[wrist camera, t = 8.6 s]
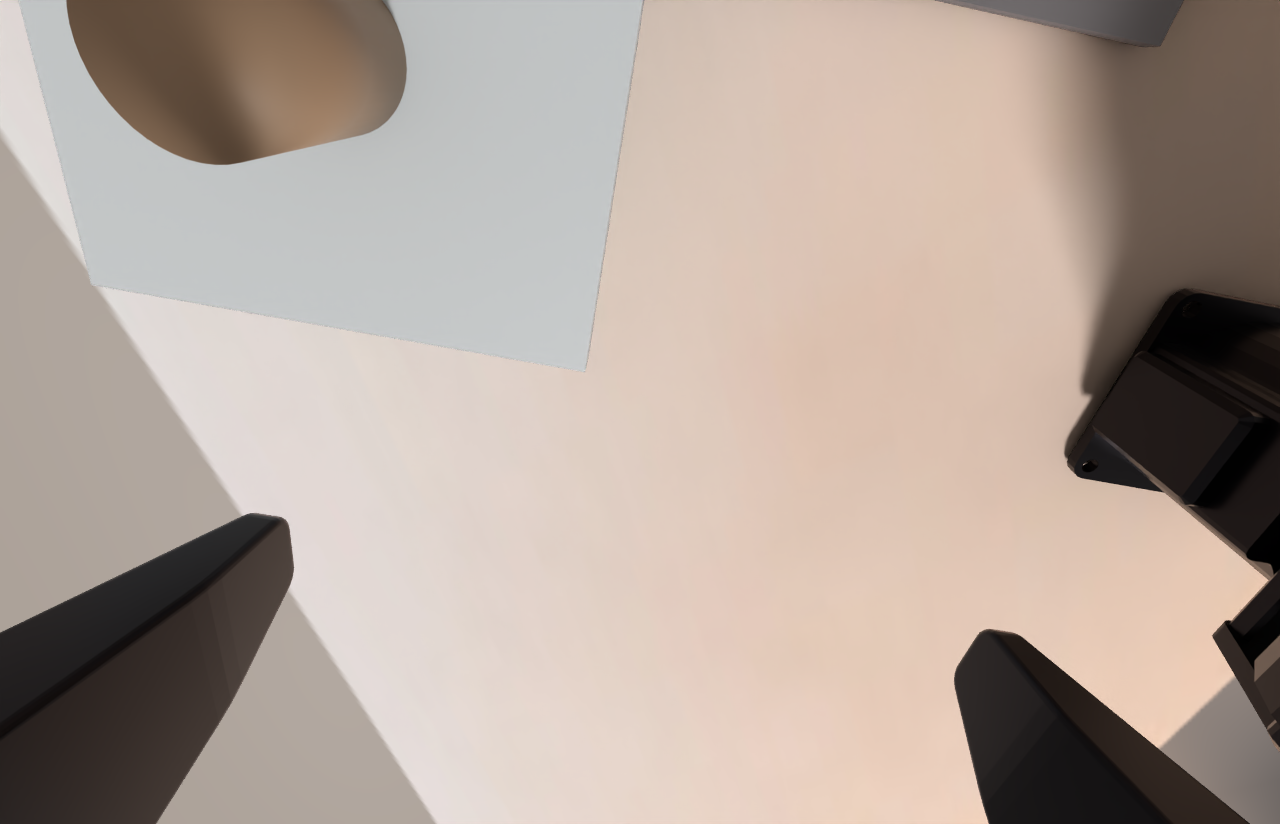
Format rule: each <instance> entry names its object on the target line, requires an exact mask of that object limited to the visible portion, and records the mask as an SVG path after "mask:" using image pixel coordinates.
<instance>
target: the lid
mask: <svg viewBox="0 0 1280 824" xmlns="http://www.w3.org/2000/svg"><path fill="white" fill-rule="evenodd" d="M18 1H19V5H20V9H21V12H22V16H23V20H24V24H25V28H26V32H27V36H28V40H29V44H30V47H31V51H32V55H33V59H34V63H35V67H36V71H37V75H38V79H39V82H40V86H41V90H42V94H43V98H44V102H45V106H46V110H47V114H48V118H49V121H50V125H51V129H52V133H53V137H54V141H55V145H56V149H57V153H58V156H59V160H60V164H61V168H62V172H63V176H64V180H65V184H66V188H67V192H68V195H69V199H70V203H71V207H72V211H73V215H74V219H75V223H76V227H77V230H78V234H79V238H80V242H81V246H82V250H83V254H84V258H85V262H86V266H87V269H88V273H89V277H90V281H91V285H94V286H100V287H106V288H111V289H117V290H123V291H128V292H134V293H140V294H145V295H151V296H157V297H162V298H168V299H173V300H179V301H185V302H190V303H196V304H202V305H207V306H213V307H219V308H224V309H230V310H236V311H241V312H247V313H253V314H258V315H264V316H270V317H275V318H281V319H287V320H292V321H298V322H304V323H309V324H315V325H321V326H326V327H332V328H338V329H343V330H349V331H355V332H360V333H366V334H372V335H377V336H383V337H389V338H394V339H400V340H406V341H411V342H417V343H423V344H428V345H434V346H440V347H445V348H451V349H457V350H462V351H468V352H474V353H479V354H485V355H490V356H496V357H502V358H507V359H513V360H519V361H524V362H530V363H536V364H541V365H547V366H553V367H558V368H564V369H570V370H575V371H581V372H585V370H586V366H587V362H588V357H589V351H590V344H591V338H592V332H593V325H594V319H595V312H596V306H597V300H598V293H599V287H600V281H601V274H602V268H603V261H604V255H605V249H606V242H607V236H608V229H609V223H610V217H611V210H612V204H613V197H614V191H615V185H616V178H617V172H618V165H619V159H620V153H621V146H622V140H623V133H624V127H625V121H626V114H627V108H628V101H629V95H630V89H631V82H632V76H633V69H634V63H635V57H636V50H637V44H638V38H639V31H640V25H641V18H642V12H643V6H644V0H18Z"/></svg>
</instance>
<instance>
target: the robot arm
mask: <svg viewBox="0 0 1280 824" xmlns="http://www.w3.org/2000/svg"><path fill="white" fill-rule="evenodd" d="M1190 302H1191V305H1190V307H1189V308H1188V309H1187V310H1186V311H1184V312H1182V311H1183V308H1184V307H1185V306H1186V305H1187V304H1188V303H1190ZM1088 460H1090V461H1089V462H1088V463H1087V464H1085V465H1083V464H1084V463H1085V462H1086V461H1088ZM1067 465H1068V467H1069V468H1070V470H1071V471H1073V472H1074V473H1075V474H1076V475H1077V476H1078V477H1080V478H1084V479H1090V480H1095V481H1101V482H1107V483H1113V484H1118V485H1124V486H1130V487H1136V488H1141V489H1147V490H1153V491H1158V492H1164V493H1166V494H1167V495H1168V496H1169V497H1170V498H1172V499H1173V500H1174V501H1175V502H1176V503H1178V504H1179V505H1180V506H1181V507H1182V508H1184V509H1185V510H1186V511H1187V512H1188V513H1189V514H1191V515H1192V516H1193V517H1194V518H1195V519H1197V520H1198V521H1199V522H1200V523H1201V524H1203V525H1204V526H1205V527H1206V528H1207V529H1209V530H1210V531H1211V532H1212V533H1213V534H1214V535H1216V536H1217V537H1218V538H1219V539H1220V540H1222V541H1223V542H1224V543H1225V544H1226V545H1228V546H1229V547H1230V548H1231V549H1232V550H1233V551H1235V552H1236V553H1237V554H1238V555H1239V556H1241V557H1242V558H1243V559H1244V560H1245V561H1247V562H1248V563H1249V564H1250V565H1251V566H1253V567H1254V568H1255V569H1256V570H1257V571H1258V572H1260V573H1261V574H1262V575H1263V576H1264V577H1266V578H1267V579H1268V580H1269V581H1268V582H1267V583H1266V584H1265V585H1264V586H1263V587H1262V588H1261V589H1260V590H1259V592H1258V593H1257V594H1256V595H1255V596H1254V597H1253V598H1252V599H1251V600H1250V601H1249V602H1248V603H1247V605H1246V606H1245V607H1244V608H1243V609H1242V610H1241V611H1240V612H1239V613H1238V614H1237V615H1236V616H1235V617H1234V619H1233V620H1232V621H1229V620H1227V621H1225V622H1224V623H1223V624H1222V625H1221V626H1220V627H1219V628H1218V629H1217V631H1216V632H1215V633H1214V634H1213V635H1212V636H1213V639H1214V640H1215V642H1216V644H1217V646H1218V647H1219V649H1220V651H1221V652H1222V654H1223V656H1224V657H1225V659H1226V661H1227V663H1228V664H1229V666H1230V668H1231V669H1232V671H1233V673H1234V674H1235V676H1236V678H1237V679H1238V681H1239V683H1240V685H1241V686H1242V688H1243V690H1244V691H1245V693H1246V695H1247V696H1248V698H1249V700H1250V702H1251V703H1252V705H1253V707H1254V708H1255V710H1256V712H1257V714H1258V715H1259V717H1260V719H1261V720H1262V722H1263V724H1264V725H1265V727H1266V729H1267V731H1268V734H1269V736H1270V738H1271V740H1272V742H1273V744H1274V746H1275V747H1276V748H1277V749H1278V751H1279V752H1280V306H1277V305H1272V304H1266V303H1261V302H1256V301H1251V300H1246V299H1241V298H1236V297H1231V296H1226V295H1221V294H1216V293H1211V292H1206V291H1201V290H1196V289H1183V290H1180V291H1177V292H1176V293H1174V294H1173V295H1172V296H1170V298H1169V299H1168V300H1167V301H1166V302H1165V304H1164V305H1163V307H1162V309H1161V310H1160V312H1159V314H1158V315H1157V317H1156V318H1155V320H1154V322H1153V323H1152V325H1151V326H1150V328H1149V330H1148V331H1147V333H1146V334H1145V336H1144V338H1143V339H1142V341H1141V342H1140V344H1139V346H1138V347H1137V349H1136V350H1135V352H1134V354H1133V355H1132V357H1131V358H1130V360H1129V362H1128V363H1127V365H1126V366H1125V368H1124V370H1123V371H1122V373H1121V374H1120V376H1119V378H1118V379H1117V381H1116V382H1115V384H1114V386H1113V387H1112V389H1111V390H1110V392H1109V394H1108V395H1107V397H1106V398H1105V400H1104V402H1103V403H1102V405H1101V406H1100V408H1099V410H1098V411H1097V413H1096V414H1095V416H1094V418H1093V419H1092V421H1091V422H1090V424H1089V426H1088V427H1087V429H1086V430H1085V432H1084V434H1083V435H1082V437H1081V438H1080V440H1079V442H1078V443H1077V445H1076V446H1075V448H1074V450H1073V451H1072V453H1071V454H1070V456H1069V458H1068V461H1067ZM293 572H294V562H293V554H292V546H291V537H290V529H289V525H288V523H287V521H286V520H285V519H284V518H282V517H278V516H271V515H265V514H259V513H250V514H246V515H244V516H241V517H239V518H237V519H235V520H233V521H231V522H229V523H227V524H225V525H223V526H221V527H219V528H217V529H214V530H212V531H210V532H208V533H206V534H204V535H202V536H200V537H198V538H196V539H194V540H192V541H190V542H187V543H185V544H183V545H181V546H179V547H177V548H175V549H173V550H171V551H169V552H167V553H165V554H163V555H160V556H158V557H156V558H155V559H152V560H150V561H148V562H146V563H144V564H142V565H140V566H138V567H136V568H134V569H132V570H129V571H127V572H125V573H123V574H121V575H119V576H117V577H115V578H113V579H111V580H109V581H107V582H104V583H102V584H100V585H98V586H96V587H94V588H92V589H90V590H88V591H86V592H84V593H82V594H80V595H78V596H75V597H73V598H71V599H69V600H67V601H65V602H63V603H61V604H59V605H57V606H55V607H53V608H51V609H48V610H46V611H44V612H42V613H40V614H38V615H36V616H34V617H32V618H30V619H28V620H26V621H24V622H21V623H19V624H17V625H15V626H13V627H11V628H9V629H7V630H5V631H3V632H1V633H0V824H156V823H157V821H158V820H159V818H160V817H161V815H162V814H163V812H164V810H165V809H166V807H167V806H168V804H169V802H170V801H171V799H172V798H173V796H174V795H175V793H176V791H177V790H178V788H179V787H180V785H181V783H182V782H183V780H184V779H185V777H186V775H187V774H188V772H189V771H190V769H191V767H192V766H193V764H194V763H195V761H196V760H197V758H198V756H199V755H200V753H201V752H202V750H203V748H204V747H205V745H206V743H207V742H208V740H209V739H210V737H211V736H212V734H213V732H214V731H215V729H216V728H217V726H218V725H219V723H220V721H221V720H222V718H223V716H224V714H225V713H226V711H227V709H228V708H229V706H230V704H231V703H232V701H233V699H234V697H235V695H236V693H237V691H238V689H239V688H240V685H241V684H242V682H243V680H244V677H245V676H246V674H247V672H248V670H249V668H250V666H251V664H252V661H253V659H254V657H255V655H256V653H257V651H258V649H259V647H260V645H261V643H262V641H263V639H264V637H265V635H266V633H267V631H268V629H269V627H270V625H271V623H272V621H273V619H274V617H275V615H276V612H277V611H278V609H279V607H280V605H281V603H282V601H283V598H284V597H285V594H286V592H287V590H288V588H289V586H290V584H291V581H292V577H293ZM954 685H955V691H956V695H957V699H958V703H959V708H960V712H961V716H962V720H963V724H964V729H965V733H966V737H967V741H968V746H969V750H970V754H971V758H972V763H973V767H974V771H975V775H976V780H977V784H978V788H979V792H980V795H981V799H982V803H983V807H984V810H985V813H986V816H987V819H988V823H989V824H1250V823H1248V822H1247V821H1246V820H1245V819H1243V818H1242V817H1241V816H1240V815H1239V814H1237V813H1236V812H1235V811H1234V810H1232V809H1231V808H1230V807H1229V806H1228V805H1226V804H1225V803H1224V802H1222V801H1221V800H1220V799H1219V798H1218V797H1217V796H1215V795H1214V794H1213V793H1212V792H1210V791H1209V790H1208V789H1207V788H1206V787H1204V786H1203V785H1202V784H1201V783H1199V782H1198V781H1197V780H1196V779H1195V778H1193V777H1192V776H1191V775H1190V774H1188V773H1187V772H1186V771H1185V770H1184V769H1182V768H1181V767H1180V766H1179V765H1178V764H1176V763H1175V762H1174V761H1173V760H1171V759H1170V758H1169V757H1168V756H1166V755H1165V754H1164V753H1163V752H1162V751H1160V750H1159V749H1158V748H1157V747H1156V746H1154V745H1153V744H1152V743H1151V742H1149V741H1148V740H1147V739H1146V738H1145V737H1143V736H1142V735H1141V734H1140V733H1138V732H1137V731H1136V730H1135V729H1134V728H1132V727H1131V726H1130V725H1129V724H1127V723H1126V722H1125V721H1124V720H1123V719H1121V718H1120V717H1119V716H1118V715H1116V714H1115V713H1114V712H1113V711H1112V710H1110V709H1109V708H1108V707H1107V706H1106V705H1104V704H1103V703H1102V702H1101V701H1099V700H1098V699H1097V698H1096V697H1095V696H1093V695H1092V694H1091V693H1090V692H1088V691H1087V690H1086V689H1085V688H1084V687H1082V686H1081V685H1080V684H1079V683H1077V682H1076V681H1075V680H1074V679H1073V678H1071V677H1070V676H1069V675H1068V674H1066V673H1065V672H1064V671H1063V670H1062V669H1060V668H1059V667H1058V666H1057V665H1055V664H1054V663H1053V662H1052V661H1051V660H1049V659H1048V658H1047V657H1046V656H1045V655H1043V654H1042V653H1041V652H1040V651H1038V650H1037V649H1036V648H1035V647H1034V646H1032V645H1031V644H1030V643H1029V642H1027V641H1026V640H1025V639H1024V638H1022V637H1021V636H1020V635H1018V634H1015V633H1012V632H1006V631H1000V630H994V629H985V630H983V631H982V632H980V633H979V634H978V635H977V637H976V638H975V640H974V641H973V643H972V644H971V646H970V648H969V649H968V651H967V652H966V654H965V655H964V657H963V658H962V660H961V661H960V663H959V664H958V666H957V668H956V671H955V677H954Z"/></svg>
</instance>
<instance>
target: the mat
mask: <svg viewBox="0 0 1280 824" xmlns="http://www.w3.org/2000/svg"><path fill="white" fill-rule="evenodd" d="M935 1H940V2H944V3H949V4H953V5H958V6H962V7H967V8H971V9H976V10H980V11H984V12H989V13H993V14H998V15H1002V16H1007V17H1011V18H1016V19H1020V20H1025V21H1029V22H1034V23H1038V24H1042V25H1047V26H1051V27H1056V28H1060V29H1065V30H1069V31H1074V32H1078V33H1083V34H1087V35H1092V36H1096V37H1101V38H1105V39H1109V40H1114V41H1118V42H1123V43H1127V44H1132V45H1136V46H1141V47H1154V46H1161V44H1162V42H1163V40H1164V38H1165V36H1166V34H1167V32H1168V30H1169V28H1170V26H1171V24H1172V22H1173V20H1174V18H1175V16H1176V14H1177V12H1178V10H1179V9H1180V7H1181V5H1182V3H1183V1H1184V0H935Z"/></svg>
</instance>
